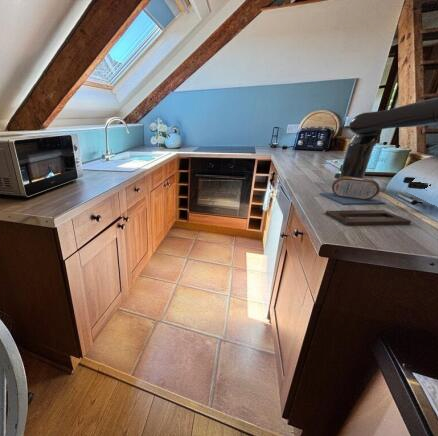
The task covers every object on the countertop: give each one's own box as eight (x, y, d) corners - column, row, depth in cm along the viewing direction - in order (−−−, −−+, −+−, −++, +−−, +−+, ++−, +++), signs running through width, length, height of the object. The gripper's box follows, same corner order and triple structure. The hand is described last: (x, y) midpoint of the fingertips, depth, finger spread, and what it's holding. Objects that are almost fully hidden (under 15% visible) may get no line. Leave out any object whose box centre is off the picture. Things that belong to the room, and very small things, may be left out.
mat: (320, 194, 108) (320, 193, 108) (356, 193, 108) (356, 192, 108) (343, 204, 95) (343, 203, 95) (384, 203, 95) (384, 202, 95)
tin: (375, 200, 98) (382, 179, 95) (375, 202, 96) (383, 181, 92) (329, 194, 106) (334, 175, 103) (329, 195, 104) (334, 176, 101)
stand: (325, 213, 87) (326, 210, 86) (382, 213, 86) (383, 209, 86) (346, 225, 78) (347, 221, 77) (410, 224, 77) (411, 221, 77)
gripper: (470, 173, 85) (406, 168, 94) (488, 181, 75) (414, 175, 84) (460, 193, 88) (398, 187, 97) (476, 204, 78) (406, 196, 86)
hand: (406, 182), depth 90 cm, fingers open, 8 cm apart
